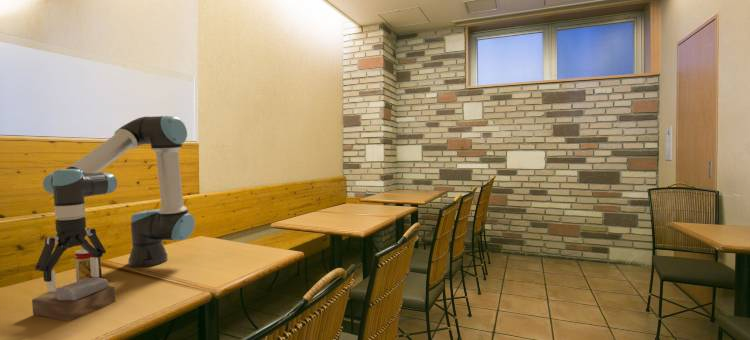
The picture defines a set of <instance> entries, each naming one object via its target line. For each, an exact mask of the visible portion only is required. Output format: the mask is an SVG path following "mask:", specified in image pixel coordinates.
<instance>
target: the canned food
mask: <svg viewBox="0 0 750 340" xmlns="http://www.w3.org/2000/svg"><path fill="white" fill-rule="evenodd" d="M74 257H75V258H74V259H75V275H76V276H75V277H76V282H78V281H80V280H83V279H88V278H93V277H92V276H91V268H90V257H93V256H92V255H91V254H90V253H89V252H87V251H86V250H85V249H84V248H82V249H78V250H76V251H75V252H74ZM102 273H103V272H102V257H100V266H99V277H97V278H102V279H103V277H102V276H103V274H102Z"/></svg>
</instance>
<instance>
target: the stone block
mask: <svg viewBox="0 0 750 340" xmlns="http://www.w3.org/2000/svg"><path fill="white" fill-rule="evenodd" d="M107 286H109V282H108V280H107V279H106V278H103V277H102V278H97V277H93V278H88V279H83V280H80V281H78V282H77V281H75V282H73V283H71V284H68V285H63V286H60V287H56V291H55V292H54V296H55V299H58V300H66V301H76V300H78V299H81V298H83V297H86V296H88V295H91V294H94V293H96V292H99V291H101V290H103V289H106V287H107Z"/></svg>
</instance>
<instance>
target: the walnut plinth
mask: <svg viewBox="0 0 750 340" xmlns="http://www.w3.org/2000/svg"><path fill="white" fill-rule="evenodd" d="M31 302H32V303H31V304H32V315H33V316H35V317H41V318H46V319H47V318H48V319H53V320H59V321H65V322H69V321H73V320H75V319H77V318H79V317H82V316H84V315H86V314H87V315H88V314H89V313H91V312H93V311H96V310H99V309H100V308H103V307H106V306H108V305H111V304H112V303H115V302H116V287H115V286H113V285H108V286H107V287H106V289H103V290H101V291H99V292H96V293H94V294H91V295H88V296H86V297H83V298H81V299H78V300H76V301H66V300H58V299H55V296H54V292H49V293H47V294H44V295H41V296H39V297H36V298H33V299H32V300H31Z"/></svg>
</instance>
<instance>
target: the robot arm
mask: <svg viewBox="0 0 750 340" xmlns="http://www.w3.org/2000/svg"><path fill="white" fill-rule="evenodd" d="M187 129H188V128H187V127H186V124H185V123H184V121H182V120H181V119H180V118H179V117H177V116H171V115H165V116H164V115H160V116H159V115H158V116H142V117H137V118H135V119H134V120H131V121H129V122H127V123H126V124H124V125H122V126H120V127H119V128H118V129H116V130H115V131H114V133H113V135H112V136H111V137H109V138H108V139H107V140H105V141H104V142H103V143H101V144H100V145H98V146H97V147H95V148H94V149H92V150H91V151H90V152H88V153H87V154H85V155H84V156H82V157H81V158H79V159H78V160H76V161H75V162H74V163H72V164H71V165H69V166H68V167H66V168H65V169H63V168H62V169H56V170H54V171H53V172H51V173H47V175H45V177H44V179H43V181H42V185H43V186H42V187H43V188H44V190H45V191H46V192H47V193H48V194H51V195H53V205H54V217H55V218H56V220H55V221H54V222H55V223H54V224H55V231H56V236H53V237H52V236H51V237H49V236H46V237H45V239H44V246H43V248H42V251H41V252H40V253H41V254H39V255H40V256H39V258H38V261H37V262H36V265H35V267H34V270H35V271H38V272H43V281H44V283H45V282H46V289H47V292H50V293H52V292H55V291H56V288H57V281H56V279H57V278H56V270H55V269H53V268H54V267H55V266H56V264H57V262H58V261H59V260H60V259H61V257H62V255H63V254H64V253H65V252H66V251H67V249H71V248H73V247H79V246H81V248H82V249H85V250H86V251H87V252H89V253H90V254H91V255H92V256H93V257H90V268H91V276H92V277H99V266H100V257H101V258H102V257H103V254H106V252H107V250H106V249H105V247H104V246H103V244H102V242H101V241H100V239H99V237H98V235H97V231H96V228H87V222H86V221H87V219H86V217H85V216H86V207H85V206H86V205H85V198H86V197H93V196H100V195H101V196H102V195H108V194H111V193H113V192H114V191H115V190H116V189H117V187H118V180H117V177H116V176H115V175H114V174H113V173H112V172H101V171H103V170H105V168H106V167H108V166H110V165H111V164H112V163H113V162H115V161H116V160H117V159H119V158H120V157H121V156H122V155H124V154H125V153H126V152H128V151H129V150H134V149H136V148H137V147H138V146H142V145H150V148H151V150H152V151H153V152H155V156H156V166H157V176H158V188H159V197H160V208H157V209H149V210H144V211H143V210H142V211H139V212H136V213H135V212H134V213H133V214H132V215H131V217H130V230H131V246H132V247H131V250H130V254H129V258H128V261H127V262H128V266H129V267H133V268H141V267H142V268H143V267H149V266H155V265H159V264H163V263H165V262H167V261H168V253H167V252H166V249H165V246H164V244H163V241H173V242H175V241H176V242H177V241H184V240H187V239H188V238H189V237H190V236H191V235H192V234H193V232H194V229H195V225H196V220H195V217H194V215H193V214H191V213H189V210H188V207H187V206H185V205H184V197H183V185H182V176H181V164H180V153H179V152H180V150H181V149H183V145H182V144H183V143H185V142H186V141H187V139H188V138H187V136H188V130H187ZM86 228H87V229H86ZM86 236H87V237H88V239H89V241H90V243H91V244H90V243H89V241H88V240H87V239H86ZM55 244H56V245H55Z"/></svg>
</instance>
